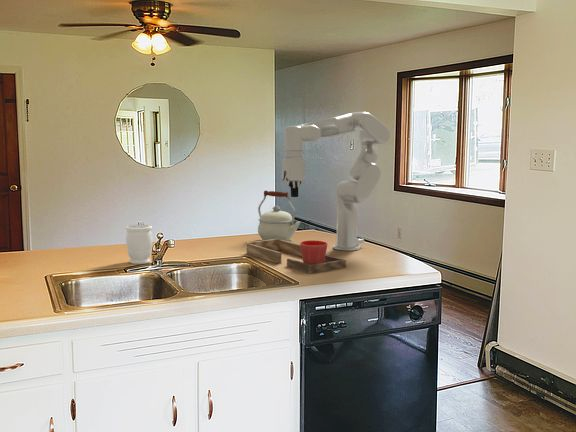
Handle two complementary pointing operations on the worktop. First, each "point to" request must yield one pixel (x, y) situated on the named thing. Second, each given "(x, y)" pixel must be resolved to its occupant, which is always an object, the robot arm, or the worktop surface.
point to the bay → (318, 265)
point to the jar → (139, 243)
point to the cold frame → (272, 249)
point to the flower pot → (313, 251)
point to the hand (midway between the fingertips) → (294, 196)
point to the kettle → (277, 220)
